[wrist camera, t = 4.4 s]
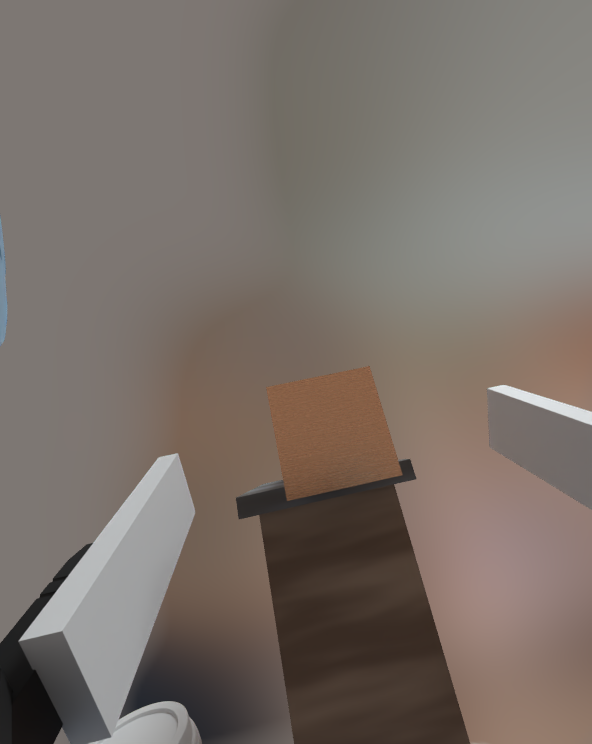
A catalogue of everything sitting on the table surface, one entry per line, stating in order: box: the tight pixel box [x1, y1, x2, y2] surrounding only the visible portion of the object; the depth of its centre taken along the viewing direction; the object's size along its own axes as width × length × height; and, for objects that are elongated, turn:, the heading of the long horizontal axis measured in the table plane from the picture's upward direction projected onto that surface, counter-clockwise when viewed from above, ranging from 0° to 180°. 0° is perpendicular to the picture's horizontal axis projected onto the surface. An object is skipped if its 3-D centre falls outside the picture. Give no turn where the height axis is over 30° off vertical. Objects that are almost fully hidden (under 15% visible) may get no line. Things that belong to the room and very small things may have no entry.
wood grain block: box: [266, 366, 402, 501], centre depth 21 cm, size 23×4×4 cm, turn 179°
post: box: [236, 459, 470, 744], centre depth 20 cm, size 16×13×30 cm
